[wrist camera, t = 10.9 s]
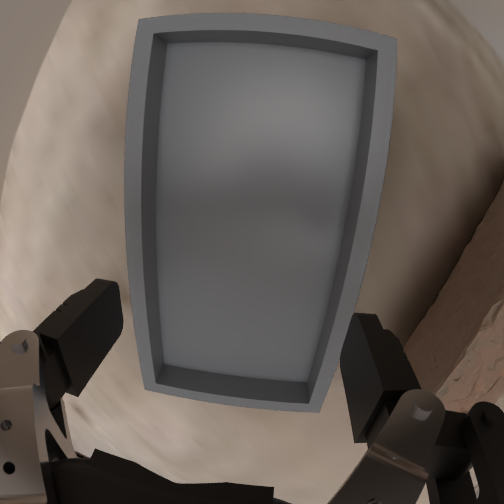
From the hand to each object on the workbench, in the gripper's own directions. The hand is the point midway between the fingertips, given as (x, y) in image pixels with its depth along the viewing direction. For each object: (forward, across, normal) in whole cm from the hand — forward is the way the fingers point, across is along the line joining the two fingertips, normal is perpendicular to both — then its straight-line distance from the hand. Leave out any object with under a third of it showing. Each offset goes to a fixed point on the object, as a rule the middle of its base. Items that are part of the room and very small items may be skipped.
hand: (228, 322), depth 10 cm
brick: (+10, -15, 0) cm, 18 cm away
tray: (+9, 0, 0) cm, 9 cm away
